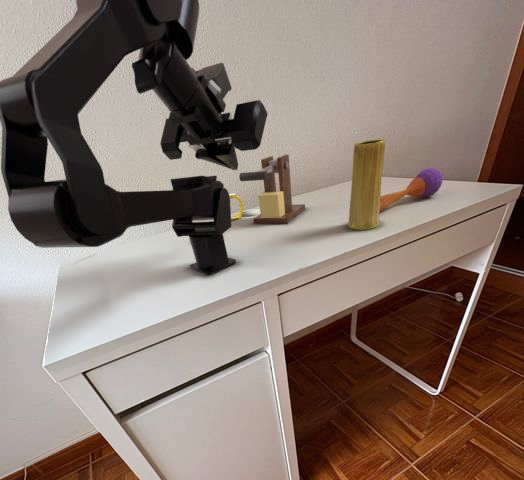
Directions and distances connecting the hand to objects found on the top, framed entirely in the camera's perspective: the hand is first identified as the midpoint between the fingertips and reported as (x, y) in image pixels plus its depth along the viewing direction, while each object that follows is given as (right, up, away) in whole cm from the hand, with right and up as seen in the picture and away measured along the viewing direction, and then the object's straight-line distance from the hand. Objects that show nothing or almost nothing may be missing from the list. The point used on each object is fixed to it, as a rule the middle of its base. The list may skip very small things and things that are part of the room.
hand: (236, 167), depth 55 cm
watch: (-3, +1, +24) cm, 24 cm away
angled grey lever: (+6, +4, +10) cm, 12 cm away
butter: (+8, -2, +16) cm, 18 cm away
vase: (+26, -9, +6) cm, 28 cm away
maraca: (+38, 0, +13) cm, 40 cm away
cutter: (+10, 0, +20) cm, 22 cm away
